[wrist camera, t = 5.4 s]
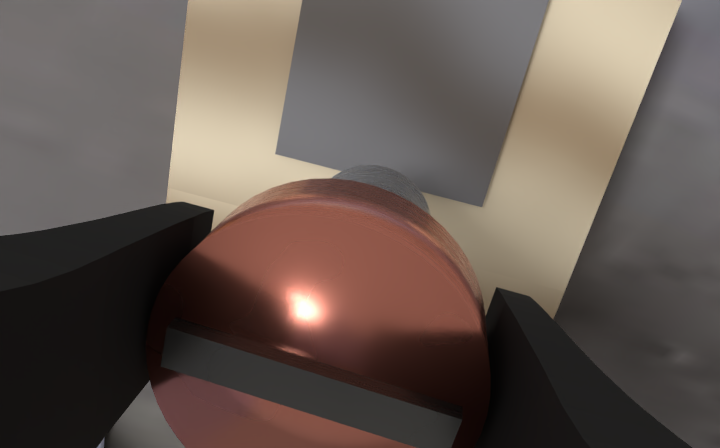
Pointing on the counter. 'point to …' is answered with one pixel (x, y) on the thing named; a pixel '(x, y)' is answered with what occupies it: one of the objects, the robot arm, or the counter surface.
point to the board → (424, 112)
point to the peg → (323, 324)
